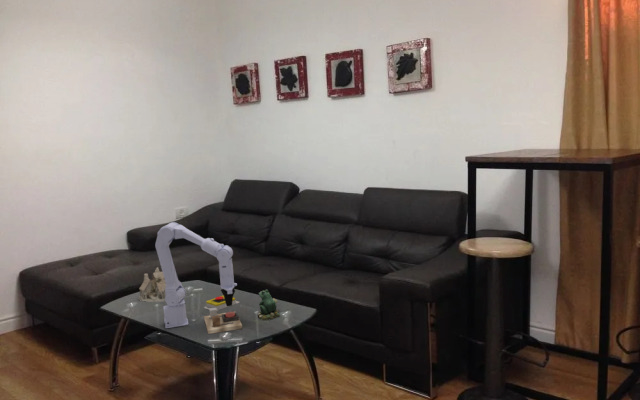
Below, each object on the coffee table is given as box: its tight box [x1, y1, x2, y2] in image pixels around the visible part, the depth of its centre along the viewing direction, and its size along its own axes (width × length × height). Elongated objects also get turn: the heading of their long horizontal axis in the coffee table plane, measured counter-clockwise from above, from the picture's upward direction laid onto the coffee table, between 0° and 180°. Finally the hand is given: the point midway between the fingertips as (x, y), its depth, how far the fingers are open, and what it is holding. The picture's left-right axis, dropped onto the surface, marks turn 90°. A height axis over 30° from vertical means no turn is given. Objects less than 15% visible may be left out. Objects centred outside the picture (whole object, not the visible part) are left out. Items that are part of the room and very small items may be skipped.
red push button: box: [224, 311, 235, 318], centre depth 235 cm, size 4×4×2 cm
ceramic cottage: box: [138, 267, 166, 303], centre depth 274 cm, size 16×16×15 cm
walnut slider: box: [212, 315, 221, 327], centre depth 228 cm, size 3×3×4 cm
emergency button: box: [203, 294, 240, 312], centre depth 258 cm, size 9×4×15 cm
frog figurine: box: [250, 289, 281, 323], centre depth 240 cm, size 18×18×12 cm
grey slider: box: [209, 308, 218, 318], centre depth 238 cm, size 3×3×4 cm
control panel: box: [203, 311, 243, 335], centre depth 234 cm, size 14×18×3 cm
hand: (229, 305), depth 234 cm, fingers closed
